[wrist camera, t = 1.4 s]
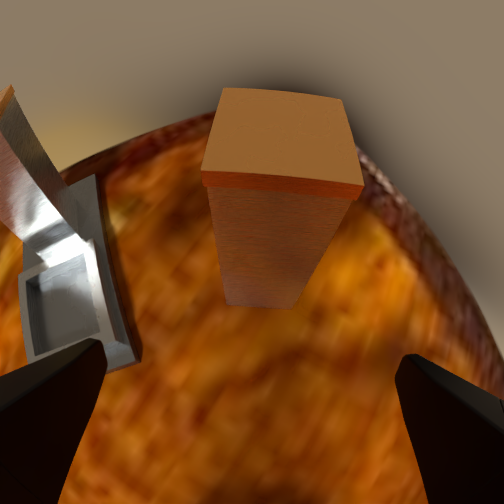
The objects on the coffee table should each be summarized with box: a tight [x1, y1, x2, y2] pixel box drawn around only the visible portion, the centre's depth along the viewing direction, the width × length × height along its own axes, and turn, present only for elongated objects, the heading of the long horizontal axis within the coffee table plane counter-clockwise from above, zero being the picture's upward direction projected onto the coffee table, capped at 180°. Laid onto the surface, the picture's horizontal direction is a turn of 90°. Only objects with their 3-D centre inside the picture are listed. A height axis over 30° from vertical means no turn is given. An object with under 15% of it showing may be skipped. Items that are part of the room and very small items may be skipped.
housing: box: [0, 85, 141, 374], centre depth 15 cm, size 20×10×16 cm, turn 25°
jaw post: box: [200, 88, 364, 309], centre depth 16 cm, size 5×5×15 cm
